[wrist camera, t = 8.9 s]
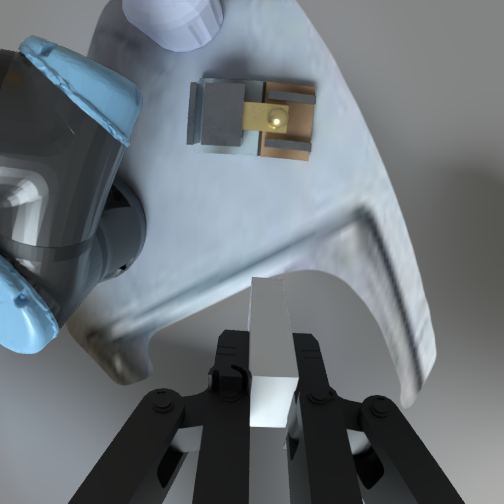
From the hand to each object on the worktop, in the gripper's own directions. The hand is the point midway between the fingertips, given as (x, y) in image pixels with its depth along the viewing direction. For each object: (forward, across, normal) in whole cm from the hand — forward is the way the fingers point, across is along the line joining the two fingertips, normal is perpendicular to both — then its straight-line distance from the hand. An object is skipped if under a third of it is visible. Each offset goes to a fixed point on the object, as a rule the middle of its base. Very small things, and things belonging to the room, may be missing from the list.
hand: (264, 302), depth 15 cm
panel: (+24, -2, +10) cm, 26 cm away
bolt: (+23, -1, +10) cm, 25 cm away
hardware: (+23, -1, +9) cm, 25 cm away
